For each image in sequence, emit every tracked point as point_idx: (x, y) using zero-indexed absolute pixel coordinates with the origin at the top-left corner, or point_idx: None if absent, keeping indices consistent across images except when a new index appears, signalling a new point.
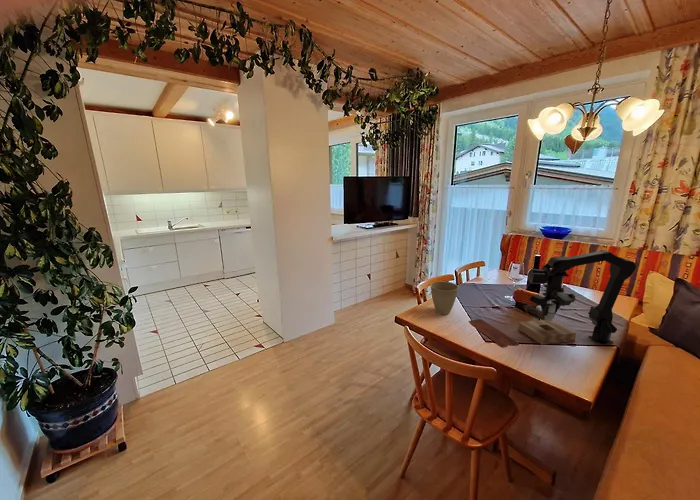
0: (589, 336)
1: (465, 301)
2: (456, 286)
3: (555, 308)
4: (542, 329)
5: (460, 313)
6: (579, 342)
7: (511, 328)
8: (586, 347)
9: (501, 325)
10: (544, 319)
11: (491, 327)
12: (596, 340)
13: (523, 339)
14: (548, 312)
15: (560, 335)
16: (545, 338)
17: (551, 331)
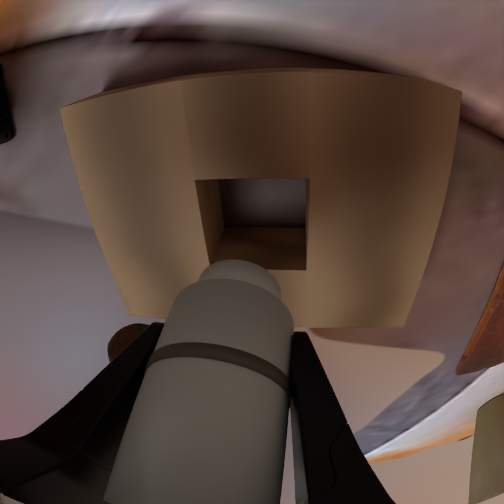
0: (8, 135)
1: (364, 444)
2: (480, 497)
3: (133, 431)
4: (335, 205)
5: (466, 400)
6: (89, 68)
7: (416, 301)
8: (92, 6)
9: (431, 330)
10: (139, 328)
11: (502, 316)
12: (1, 86)
13: (476, 181)
14: (278, 382)
15: (232, 73)
16: (420, 81)
17: (276, 151)
